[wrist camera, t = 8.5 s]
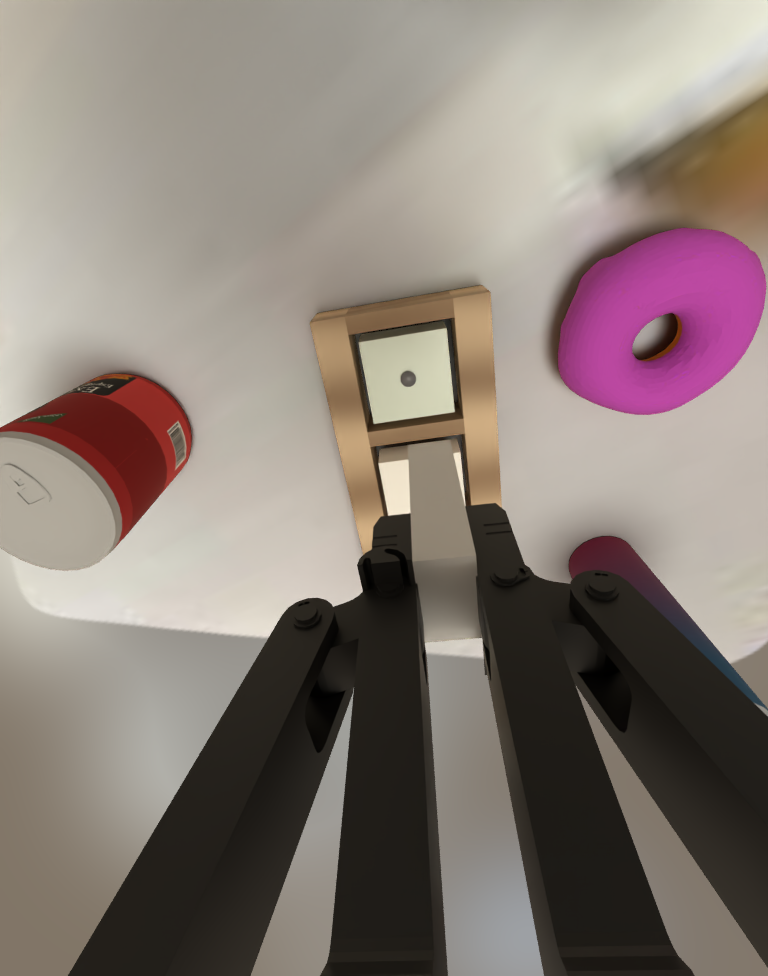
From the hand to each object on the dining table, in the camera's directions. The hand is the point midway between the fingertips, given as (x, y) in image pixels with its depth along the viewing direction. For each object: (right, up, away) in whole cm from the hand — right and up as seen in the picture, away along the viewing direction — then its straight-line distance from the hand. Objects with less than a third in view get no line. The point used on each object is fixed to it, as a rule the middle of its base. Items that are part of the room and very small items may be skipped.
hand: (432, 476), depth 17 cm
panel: (+1, +2, +17) cm, 17 cm away
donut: (+14, +10, +12) cm, 21 cm away
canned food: (-19, +4, +16) cm, 25 cm away
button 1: (0, +7, +13) cm, 14 cm away
